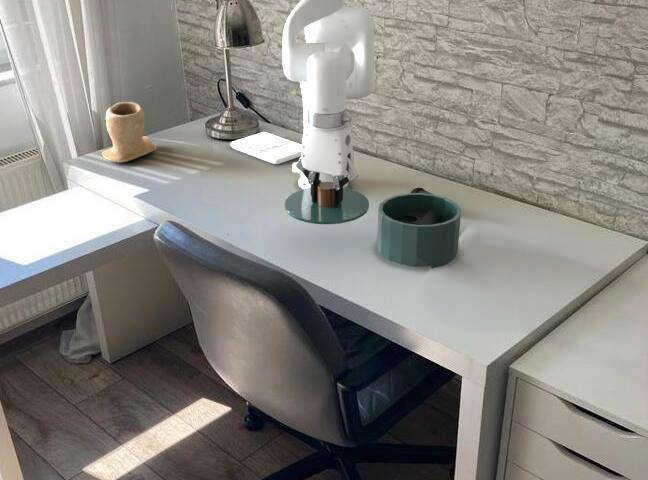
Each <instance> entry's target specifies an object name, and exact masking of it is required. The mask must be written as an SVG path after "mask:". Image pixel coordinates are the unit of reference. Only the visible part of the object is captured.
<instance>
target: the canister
mask: <svg viewBox="0 0 648 480" xmlns="http://www.w3.org/2000/svg"><path fill="white" fill-rule="evenodd" d="M432 194H433V193H431V194H424V193H411V192H408V193H401V194H396V195H393V196H390V197H388V198H384V200H383V201H382V202H380V204H379V205H378V213H377V236H376V237H377V238H376V239H377V241H376V242H377V243H376V249H377V251H378V253H379V254H380V255H381V256H382V257H383V258H384V259H386V260H388V261H390V262H392V263H394V264H395V263H396V264H398V265H401V266H407V267H413V268H414V267H415V268H416V267H417V268H418V267H430V269H434V268H439V267H443V266H446V265H448V264H450V263H452V262H453V261H454V260H455V259H456V257H457V255H458V250H459V240H460V229H461V219H462V208H461V207H460V206H459V205H458V204H457V202H455V201H453V200H452V199H449V198H447V197H444V196H441V195H437V194H434V195H432ZM429 210H433V211H435V212H436V213H437V214H438V215H439V216H440V217H441V220H442V223H439V224H433V225H415V224H407V223H403V222H401V221H408V222H415V221H417V220H416V219H413V218H408V217H406V215H407V214H408V212H409V211H415V212H421V213H427V212H428V211H429Z"/></svg>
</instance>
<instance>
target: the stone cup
mask: <svg viewBox="0 0 648 480" xmlns="http://www.w3.org/2000/svg"><path fill="white" fill-rule="evenodd" d="M145 124H146V116H145V112H144V109H143V107H142V106H141V105H140V104H139V103H137V102H134V101H119V102H117V103H115V104H113V105H112V106H109V107H108V109H106V112H105V126H106V130H107V133H108V135H109V137H110V139H111V142H112V147H109V148H107V149H105V150H103V152H102V153H101V156H102V157H103V158H104V159H106V161H110V162H113V163H126V162H130V161H133V160H135V159H138V158H140V157H143V156H145V155H148V154H150V153H152V152H155V151H156V150H157V147H156V145H155V144H154V143H153V142H152V141H151V139H150V137H148V136H145V135H144V128H145Z"/></svg>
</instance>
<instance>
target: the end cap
mask: <svg viewBox="0 0 648 480" xmlns="http://www.w3.org/2000/svg"><path fill="white" fill-rule="evenodd" d="M406 217H408V218H413V219H416V220H417V221H415V222H408V221H401V222H403V223H407V224H415V225H433V224H439V223H442V220H441V217H440V216H439V215H438V214H437V213H436V212H435V211H433V210H429V211H428V212H427V213H421V212H415V211H409V212H408V214H407V215H406Z"/></svg>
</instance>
